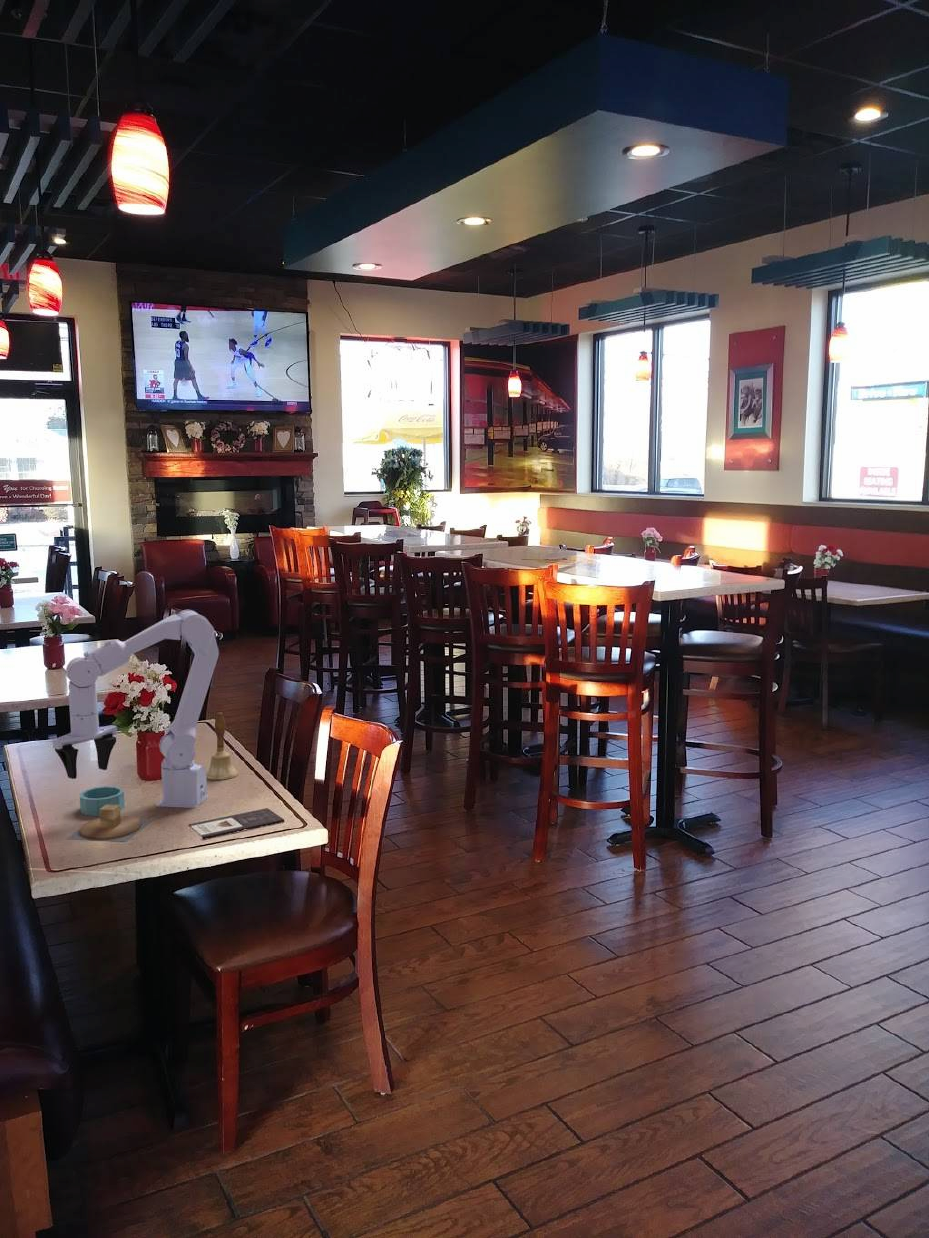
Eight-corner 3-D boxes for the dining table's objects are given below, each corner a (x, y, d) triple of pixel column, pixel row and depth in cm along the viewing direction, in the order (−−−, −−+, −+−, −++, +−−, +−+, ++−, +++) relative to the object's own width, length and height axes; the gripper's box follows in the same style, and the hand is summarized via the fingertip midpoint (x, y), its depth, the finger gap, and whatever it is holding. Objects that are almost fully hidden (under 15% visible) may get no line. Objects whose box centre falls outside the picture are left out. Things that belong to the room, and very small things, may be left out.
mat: (153, 821, 212) (153, 819, 212) (126, 843, 199) (125, 841, 199) (96, 818, 213) (96, 816, 213) (65, 840, 201) (65, 838, 200)
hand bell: (216, 768, 250) (214, 708, 247) (244, 772, 247) (242, 710, 244) (197, 778, 242) (194, 715, 240) (225, 781, 239) (223, 718, 237)
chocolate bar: (284, 819, 211) (203, 836, 201) (284, 823, 212) (203, 841, 201) (267, 808, 219) (188, 824, 208) (267, 812, 219) (188, 828, 209)
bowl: (131, 803, 223) (130, 787, 222) (112, 817, 214) (111, 800, 213) (93, 802, 224) (92, 785, 223) (72, 816, 215) (71, 798, 214)
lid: (150, 820, 211) (149, 798, 211) (124, 840, 199) (123, 818, 199) (97, 817, 213) (96, 796, 212) (69, 838, 201) (67, 815, 200)
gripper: (101, 704, 220) (105, 762, 222) (42, 717, 208) (46, 778, 210) (121, 708, 216) (124, 767, 218) (62, 721, 204) (66, 784, 206)
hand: (87, 773), depth 214 cm, fingers open, 7 cm apart
